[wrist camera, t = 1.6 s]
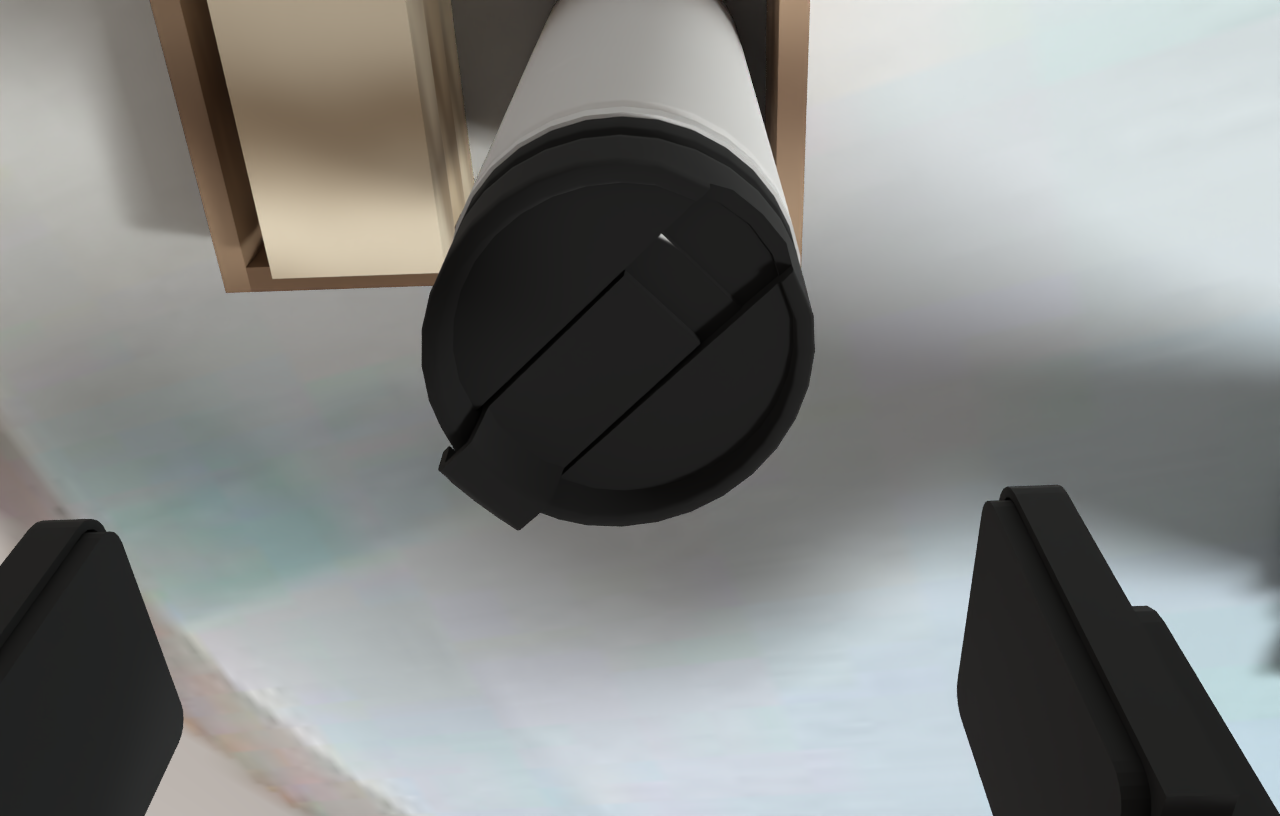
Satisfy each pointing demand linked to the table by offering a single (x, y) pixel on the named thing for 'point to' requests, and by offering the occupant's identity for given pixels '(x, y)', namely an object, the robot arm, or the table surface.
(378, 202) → the maple offcut stack
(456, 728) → the table surface
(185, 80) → the wooden tray
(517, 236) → the travel mug
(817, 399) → the table surface
